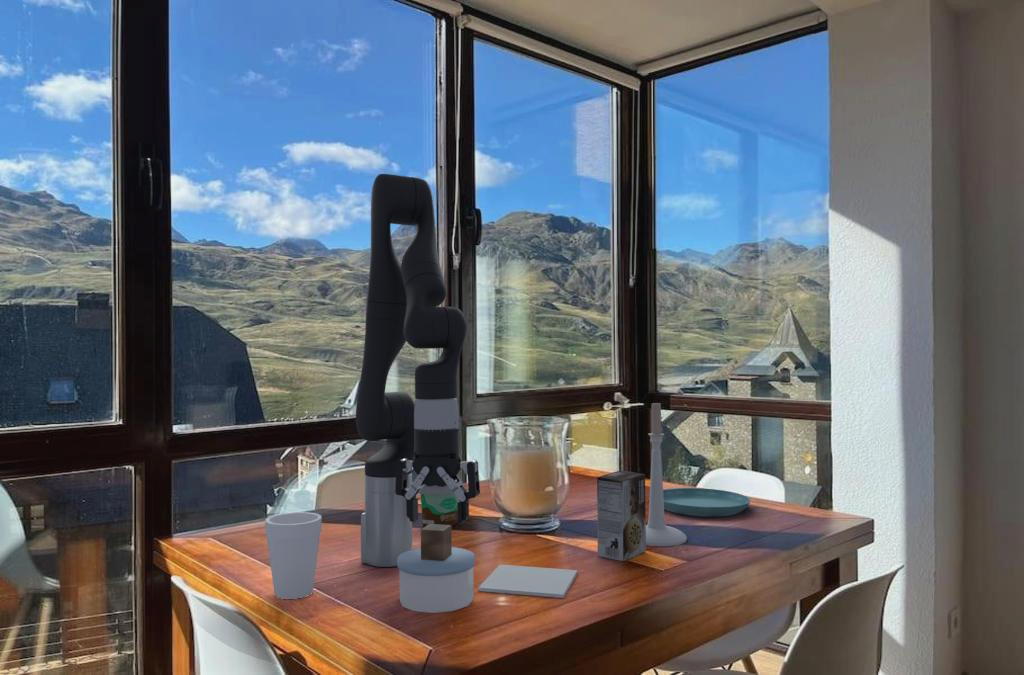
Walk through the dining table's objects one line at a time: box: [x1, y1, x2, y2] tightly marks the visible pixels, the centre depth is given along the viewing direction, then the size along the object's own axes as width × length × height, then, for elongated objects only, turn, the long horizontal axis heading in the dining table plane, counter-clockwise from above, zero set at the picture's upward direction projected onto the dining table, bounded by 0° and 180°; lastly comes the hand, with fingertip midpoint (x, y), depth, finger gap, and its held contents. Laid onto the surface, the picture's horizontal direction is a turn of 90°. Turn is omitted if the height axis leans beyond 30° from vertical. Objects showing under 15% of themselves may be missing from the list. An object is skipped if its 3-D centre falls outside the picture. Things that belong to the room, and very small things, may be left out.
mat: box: [478, 564, 578, 599], centre depth 139 cm, size 15×14×1 cm
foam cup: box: [264, 511, 323, 600], centre depth 133 cm, size 10×9×13 cm
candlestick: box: [646, 402, 688, 547], centre depth 169 cm, size 13×13×30 cm
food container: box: [418, 480, 459, 528], centre depth 182 cm, size 12×6×10 cm, turn 143°
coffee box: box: [596, 470, 647, 562], centre depth 157 cm, size 9×6×16 cm
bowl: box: [399, 567, 475, 614], centre depth 130 cm, size 12×12×6 cm
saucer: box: [663, 487, 751, 518], centre depth 199 cm, size 24×24×3 cm
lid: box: [396, 524, 476, 576], centre depth 130 cm, size 13×13×6 cm
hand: (437, 521), depth 130 cm, fingers open, 8 cm apart
